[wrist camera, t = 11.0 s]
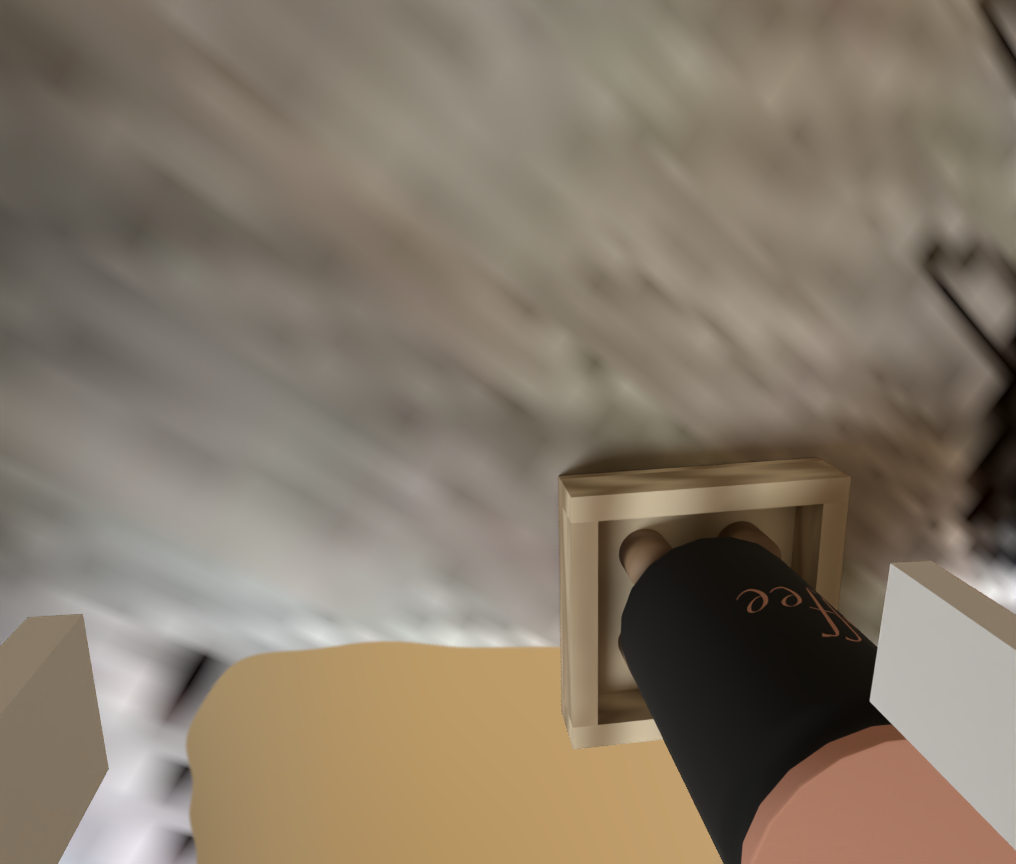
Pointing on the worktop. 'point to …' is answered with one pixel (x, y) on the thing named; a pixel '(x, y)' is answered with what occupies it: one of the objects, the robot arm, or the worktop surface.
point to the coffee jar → (784, 719)
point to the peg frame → (655, 531)
